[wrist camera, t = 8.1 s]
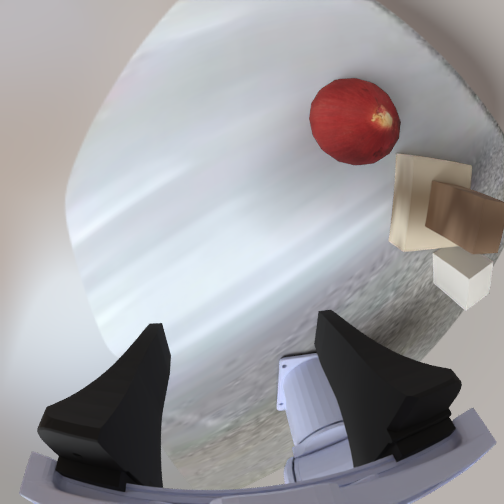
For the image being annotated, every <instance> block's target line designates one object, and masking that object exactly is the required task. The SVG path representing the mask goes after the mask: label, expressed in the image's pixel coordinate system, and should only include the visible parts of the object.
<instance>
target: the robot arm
mask: <svg viewBox="0 0 504 504" xmlns="http://www.w3.org/2000/svg"><path fill="white" fill-rule="evenodd" d="M314 344H315V348H316V351H317V353H313V354H306V355H299V356H292V357H284V358H282V359H280V361H279V378H278V395H277V410H286V414H287V418H288V422H289V426H290V430H291V434H292V438H293V442H294V445H295V446H294V447H292V450H293V454H294V457H291V458H289V459H288V460H287V463H286V465H285V468H284V480H285V484H281V485H274V486H266V487H257V488H247V489H230V490H184V489H169V488H163V483H162V472H161V421H162V413H163V407H164V401H165V396H166V391H167V386H168V380H169V375H170V362H171V354H170V351H169V347H168V344H167V340H166V336H165V333H164V329H163V325H162V323H155V324H149V325H148V326H147V327H146V328H145V330H144V331H143V332H142V333H141V334H140V336H139V337H138V338H137V339H136V340H135V342H134V343H133V344H132V345H131V346H130V347H129V349H128V350H127V351H126V352H125V353H124V354H123V355H122V356H121V357H120V358H119V359H118V360H117V361H116V363H115V364H114V365H113V366H111V367H110V368H109V369H108V370H107V371H106V372H105V373H103V374H102V375H101V376H100V377H99V378H97V379H96V380H95V381H93V382H92V383H90V384H89V385H88V386H86V387H85V388H83V389H82V390H80V391H79V392H77V393H75V394H73V395H71V396H70V397H68V398H66V399H64V400H62V401H59V402H57V403H55V404H53V405H50V406H48V407H47V408H46V410H45V412H44V414H43V417H42V419H41V422H40V424H39V426H38V430H37V432H38V434H39V436H40V438H41V439H42V440H43V441H44V442H45V443H46V444H47V445H48V446H49V447H50V448H51V449H52V450H53V451H54V452H55V453H56V454H58V456H59V458H58V461H56V460H54V459H52V458H50V457H47V456H44V455H42V454H39V453H36V452H34V451H32V452H31V455H30V458H29V461H28V464H27V467H26V470H25V474H24V477H23V481H22V484H21V488H20V492H19V494H20V495H21V496H23V497H24V498H26V499H27V500H29V501H31V502H32V503H34V504H411V503H413V502H415V501H417V500H419V499H421V498H423V497H424V496H426V495H428V494H430V493H431V492H433V491H435V490H436V489H438V488H440V487H441V486H443V485H445V484H446V483H448V482H449V481H451V480H452V479H454V478H455V477H457V476H458V475H460V474H461V473H463V472H464V471H466V470H467V469H469V468H470V467H471V466H472V465H473V464H475V463H476V462H477V461H478V460H479V459H480V458H481V457H482V456H484V455H485V454H486V453H487V452H488V451H489V450H490V449H491V448H492V447H493V446H494V445H495V444H496V441H495V439H494V437H493V436H492V435H491V433H490V431H489V430H488V429H487V427H486V426H485V424H484V422H483V421H482V420H481V418H480V417H479V415H478V414H477V412H476V411H475V410H474V408H471V409H470V410H468V411H466V412H465V413H463V414H461V415H460V416H458V417H456V418H455V419H454V420H453V421H451V419H450V418H449V417H450V416H451V411H450V410H449V407H450V405H451V404H452V402H453V401H454V399H455V398H456V397H457V395H458V393H459V391H460V389H461V386H462V384H461V381H460V380H459V378H458V377H457V376H456V374H455V373H454V372H453V371H452V370H451V369H448V368H442V367H437V366H432V365H429V364H425V363H421V362H418V361H416V360H413V359H410V358H407V357H405V356H402V355H400V354H398V353H396V352H394V351H392V350H390V349H388V348H386V347H384V346H382V345H380V344H379V343H377V342H375V341H374V340H372V339H371V338H369V337H367V336H366V335H364V334H363V333H362V332H360V331H359V330H357V329H356V328H355V327H353V326H352V325H351V324H349V323H348V322H347V321H345V320H344V319H343V318H341V317H340V316H339V315H337V314H336V313H335V312H333V311H332V310H325V311H319V313H318V321H317V329H316V336H315V343H314Z"/></svg>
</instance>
